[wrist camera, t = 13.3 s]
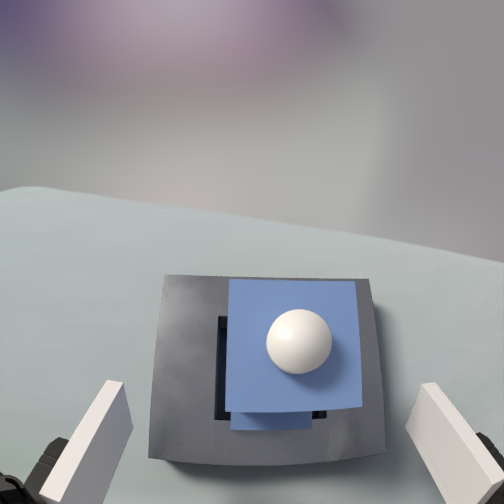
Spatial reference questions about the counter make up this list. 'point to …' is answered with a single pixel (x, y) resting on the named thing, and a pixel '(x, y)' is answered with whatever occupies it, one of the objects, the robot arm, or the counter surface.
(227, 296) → the plate
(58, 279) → the counter surface
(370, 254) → the counter surface
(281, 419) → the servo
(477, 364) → the counter surface
